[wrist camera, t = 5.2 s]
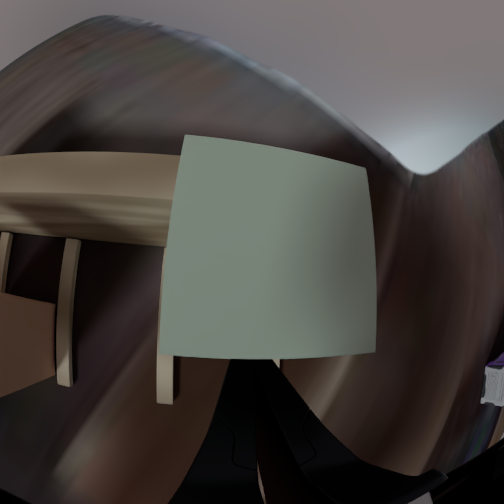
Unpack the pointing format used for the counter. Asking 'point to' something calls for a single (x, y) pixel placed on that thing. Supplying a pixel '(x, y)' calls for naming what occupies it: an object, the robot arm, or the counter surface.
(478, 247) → the counter surface
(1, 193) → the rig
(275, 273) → the sage block
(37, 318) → the terracotta block
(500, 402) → the candy box
